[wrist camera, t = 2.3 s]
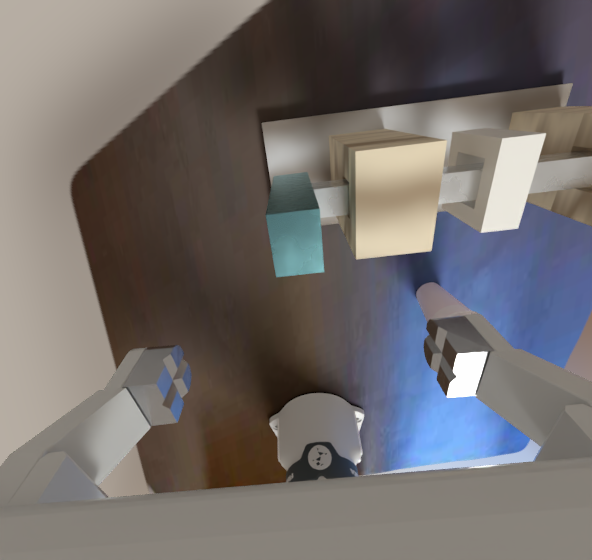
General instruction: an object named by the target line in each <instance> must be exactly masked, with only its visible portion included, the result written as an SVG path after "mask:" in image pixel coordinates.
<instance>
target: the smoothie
mask: <svg viewBox="0 0 592 560" xmlns="http://www.w3.org/2000/svg"><path fill="white" fill-rule="evenodd" d="M416 298H417V300H418V302H419V305H420V307H421V309H422V311H423V314H424V316H425V318H426V320H427V322H428V321H429V319H436V318H445V317H454V316H462V315H469V314H477V312H474V311H471V310H470V309H468V308H467V307H466V306H465V305H463V304H462V303H461V302H459V301H458V300H457V299H456V298H454V297H453V296H452V295H451V294H449V293H448V292H447V291H446V290H444V289H443V288H442V287H441V286H439V285H438V284H437V283H433V282H430V283H426V284H424V285H422V286H421V287H420V288H419V289H418V290H417V292H416Z"/></svg>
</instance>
